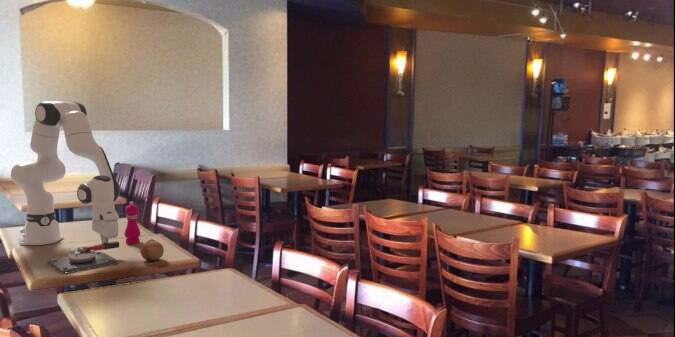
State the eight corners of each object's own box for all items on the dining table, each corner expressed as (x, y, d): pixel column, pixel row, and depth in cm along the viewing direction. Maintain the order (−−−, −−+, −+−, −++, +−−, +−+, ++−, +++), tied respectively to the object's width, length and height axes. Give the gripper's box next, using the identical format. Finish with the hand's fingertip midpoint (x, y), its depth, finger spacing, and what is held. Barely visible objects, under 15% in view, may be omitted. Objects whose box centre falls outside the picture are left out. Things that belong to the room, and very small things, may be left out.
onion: (149, 265, 244) (148, 242, 247) (168, 261, 241) (167, 238, 245) (136, 263, 235) (135, 239, 238) (155, 258, 233) (154, 235, 236)
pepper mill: (135, 245, 265) (134, 203, 262) (121, 243, 266) (120, 202, 263) (143, 241, 272) (142, 200, 269) (130, 240, 273) (128, 199, 271)
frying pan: (74, 264, 227) (73, 252, 226) (65, 259, 234) (65, 247, 233) (122, 255, 240) (122, 244, 240) (113, 250, 248) (113, 239, 247)
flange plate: (47, 263, 233) (47, 258, 233) (101, 254, 248) (101, 249, 248) (61, 274, 220) (61, 268, 220) (117, 263, 235) (117, 258, 235)
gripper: (87, 210, 248) (88, 241, 249) (105, 218, 233) (106, 250, 235) (102, 208, 252) (103, 238, 254) (120, 216, 237) (121, 247, 239)
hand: (105, 244), depth 244 cm, fingers closed
